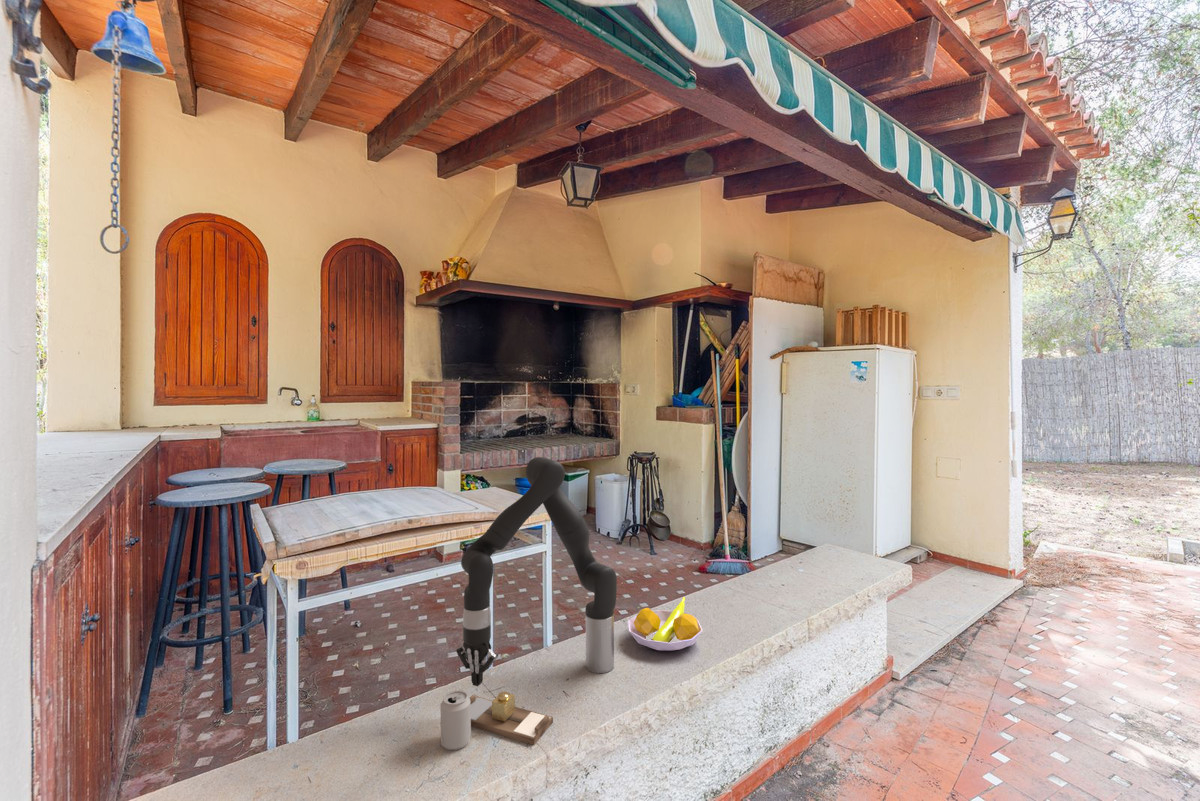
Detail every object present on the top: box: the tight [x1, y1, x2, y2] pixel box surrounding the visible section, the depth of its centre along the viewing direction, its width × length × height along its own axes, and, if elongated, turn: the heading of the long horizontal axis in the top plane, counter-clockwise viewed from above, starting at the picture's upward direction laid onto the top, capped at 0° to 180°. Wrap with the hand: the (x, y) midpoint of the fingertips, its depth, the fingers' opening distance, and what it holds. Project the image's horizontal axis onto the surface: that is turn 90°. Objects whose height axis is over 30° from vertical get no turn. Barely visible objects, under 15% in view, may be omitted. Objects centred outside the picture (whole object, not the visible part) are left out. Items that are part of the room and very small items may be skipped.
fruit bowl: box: [627, 596, 703, 652], centre depth 192 cm, size 28×27×11 cm
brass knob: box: [492, 691, 516, 722], centre depth 145 cm, size 5×4×6 cm
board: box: [469, 694, 554, 746], centre depth 145 cm, size 10×25×3 cm, turn 67°
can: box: [439, 689, 472, 751], centre depth 137 cm, size 8×8×12 cm
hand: (477, 684), depth 148 cm, fingers closed
